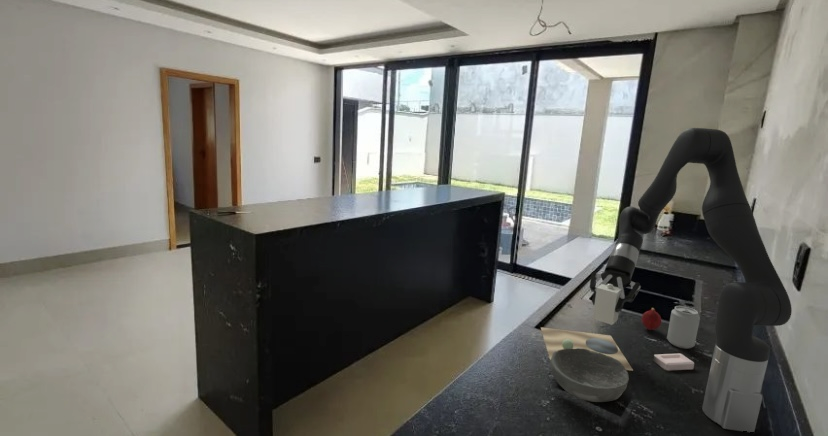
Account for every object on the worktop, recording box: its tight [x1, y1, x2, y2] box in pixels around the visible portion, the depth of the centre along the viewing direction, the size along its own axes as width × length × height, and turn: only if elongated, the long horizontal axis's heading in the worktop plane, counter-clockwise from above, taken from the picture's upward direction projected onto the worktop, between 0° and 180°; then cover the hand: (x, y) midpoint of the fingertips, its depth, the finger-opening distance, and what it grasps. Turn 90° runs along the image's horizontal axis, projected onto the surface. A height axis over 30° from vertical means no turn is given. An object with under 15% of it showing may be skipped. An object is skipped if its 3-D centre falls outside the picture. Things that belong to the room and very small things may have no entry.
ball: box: [562, 339, 574, 349], centre depth 114 cm, size 3×3×3 cm
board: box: [540, 326, 634, 372], centre depth 117 cm, size 20×22×2 cm
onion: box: [641, 307, 662, 331], centre depth 132 cm, size 6×6×8 cm
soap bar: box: [652, 352, 695, 371], centre depth 111 cm, size 5×9×2 cm, turn 97°
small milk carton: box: [592, 284, 621, 326], centre depth 115 cm, size 6×6×11 cm
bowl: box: [550, 348, 630, 403], centre depth 96 cm, size 18×18×8 cm
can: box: [666, 305, 701, 349], centre depth 122 cm, size 8×8×12 cm
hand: (605, 307), depth 114 cm, fingers closed on small milk carton, 5 cm apart
